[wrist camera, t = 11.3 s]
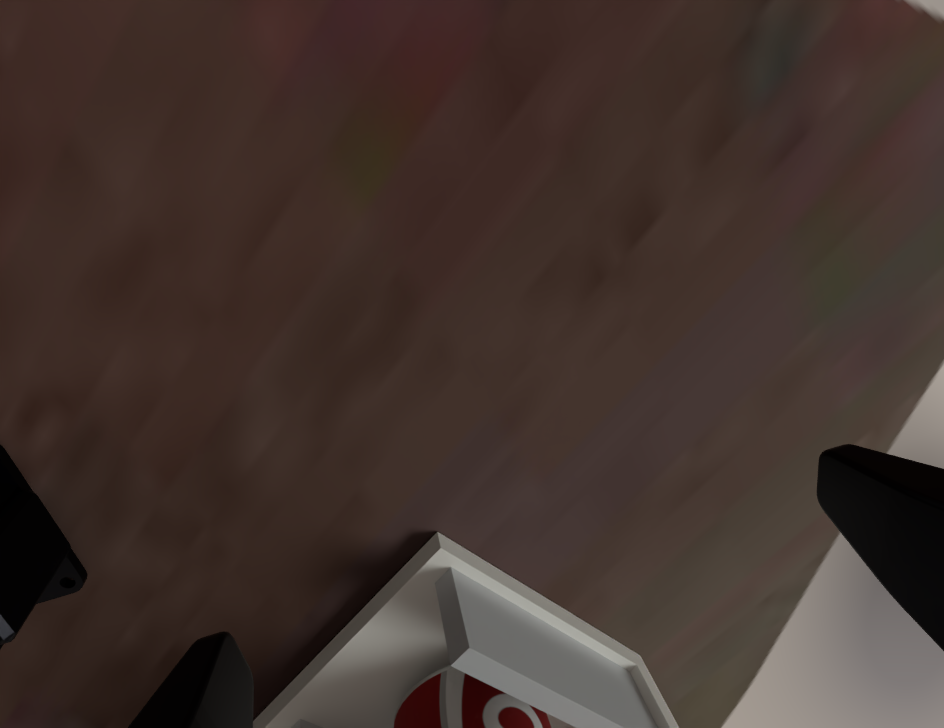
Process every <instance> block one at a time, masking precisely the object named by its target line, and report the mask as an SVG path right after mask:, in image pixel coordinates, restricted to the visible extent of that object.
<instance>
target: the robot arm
mask: <svg viewBox="0 0 944 728" xmlns="http://www.w3.org/2000/svg"><path fill="white" fill-rule="evenodd" d="M817 498H818V501H819V504H820V506H821V507H822V509H823V510H824V512H825V513H826V514H827V516H828V517H829V518H830V519H831V521H832V522H833V523H834V524H835V526H836V527H837V528H838V530H839V531H840V532H841V533H842V535H843V536H844V537H845V538H846V540H847V541H848V542H849V543H850V545H851V546H852V547H853V548H854V550H855V551H856V552H857V553H858V555H859V556H860V557H861V559H862V560H863V561H864V562H865V563H866V565H867V566H868V567H869V569H870V570H871V571H872V572H873V574H874V575H875V576H876V577H877V579H878V580H879V581H880V582H881V584H882V585H883V586H884V587H885V588H886V590H887V591H888V592H889V593H890V594H891V595H892V596H893V598H894V599H895V600H896V601H897V602H898V603H899V604H900V605H901V606H902V608H903V609H904V610H905V611H906V612H907V613H908V614H909V615H910V616H911V617H912V618H913V619H914V620H915V621H916V622H917V623H918V624H919V625H920V626H921V627H922V629H923V630H924V631H925V632H926V633H927V634H928V635H929V636H930V637H931V638H932V639H933V640H934V641H935V642H936V643H937V644H938V645H939V647H940V648H941V649H942V650H943V651H944V469H942V468H938V467H934V466H931V465H927V464H923V463H919V462H915V461H912V460H908V459H904V458H901V457H897V456H893V455H889V454H886V453H882V452H878V451H874V450H871V449H867V448H863V447H859V446H856V445H851V444H846V445H841V446H838V447H834V448H831V449H828V450H825V451H824V452H822V454H821V455H820V457H819V465H818V480H817ZM66 577H69V578H72V579H74V580H69V579H67V578H66ZM86 579H87V572H86V570H85V568H84V567H83V565H82V564H81V562H80V561H79V559H78V558H77V556H76V555H75V553H74V552H73V550H72V549H71V546H70V544H69V542H68V541H67V539H66V538H65V536H64V535H63V533H62V532H61V530H60V529H59V527H58V526H57V524H56V523H55V521H54V520H53V518H52V517H51V515H50V514H49V512H48V511H47V509H46V508H45V506H44V505H43V503H42V502H41V500H40V499H39V497H38V496H37V495H36V494H35V493H34V492H33V491H32V489H31V488H30V486H29V485H28V483H27V482H26V480H25V479H24V477H23V476H22V474H21V473H20V471H19V470H18V468H17V467H16V465H15V464H14V462H13V461H12V459H11V458H10V456H9V455H8V453H7V452H6V450H5V449H4V448H3V447H2V446H1V445H0V649H1V648H2V646H3V645H4V644H5V643H8V642H11V641H12V640H13V639H14V638H15V637H16V635H17V633H18V632H19V630H20V629H21V627H22V625H23V624H24V622H25V621H26V619H27V618H28V616H29V614H30V613H31V611H32V610H33V608H34V606H35V605H36V604H38V603H41V602H45V601H48V600H51V599H55V598H58V597H61V596H65V595H68V594H71V593H75V592H77V591H79V590H80V589H81V588H82V586H83V585H84V583H85V581H86ZM253 693H254V685H253V677H252V673H251V670H250V667H249V665H248V664H247V662H246V660H245V658H244V656H243V654H242V653H241V651H240V649H239V647H238V645H237V643H236V642H235V640H234V638H233V637H232V635H231V634H230V633H228V632H219V633H216V634H213V635H210V636H206V637H203V638H200V639H198V640H197V641H196V642H194V644H193V645H192V646H191V647H190V648H189V650H188V651H187V652H186V653H185V655H184V656H183V657H182V659H181V660H180V661H179V662H178V664H177V665H176V666H175V668H174V669H173V670H172V671H171V673H170V674H169V675H168V677H167V678H166V679H165V680H164V682H163V683H162V684H161V686H160V687H159V688H158V689H157V691H156V692H155V693H154V695H153V696H152V697H151V698H150V700H149V701H148V702H147V704H146V705H145V706H144V707H143V709H142V710H141V711H140V713H139V714H138V715H137V716H136V718H135V719H134V720H133V721H132V723H131V724H130V725H129V727H128V728H253Z"/></svg>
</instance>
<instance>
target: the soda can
mask: <svg viewBox="0 0 944 728" xmlns="http://www.w3.org/2000/svg"><path fill="white" fill-rule="evenodd" d="M393 728H551V725H550V722H549V719H548V716H547V713H545V712H543V711H541V710H539V709H537V708H535V707H533V706H531V705H529V704H527V703H525V702H523V701H521V700H519V699H517V698H515V697H513V696H511V695H509V694H507V693H505V692H503V691H501V690H498V689H496V688H494V687H492V686H490V685H488V684H486V683H484V682H482V681H480V680H478V679H476V678H474V677H472V676H470V675H468V674H466V673H464V672H462V671H460V670H458V669H456V668H454V667H452V666H450V665H447V666H445V667H443V668H440V669H438V670H436V671H434V672H432V673H431V674H429V675H427V676H426V677H424V678H423V679H421V680H420V681H419V682H418V683H416V684H415V685H414V686H413V687H412V688H411V689H410V690H409V691H408V692H407V694H406V695H405V696H404V698H403V699H402V700H401V702H400V704H399V706H398V708H397V710H396V713H395V717H394V727H393Z"/></svg>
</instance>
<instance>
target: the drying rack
mask: <svg viewBox="0 0 944 728" xmlns="http://www.w3.org/2000/svg"><path fill="white" fill-rule="evenodd" d="M447 665H450V666H452V667H454V668H456V669H458V670H460V671H462V672H464V673H466V674H468V675H470V676H472V677H474V678H476V679H478V680H480V681H482V682H484V683H486V684H488V685H490V686H492V687H494V688H496V689H498V690H501V691H503V692H505V693H507V694H509V695H511V696H513V697H515V698H517V699H519V700H521V701H523V702H525V703H527V704H529V705H531V706H533V707H535V708H537V709H539V710H541V711H543V712H545V713H547V716H548V719H549V722H550V725H551V728H679V727H678V725H677V723H676V721H675V719H674V717H673V715H672V714H671V712H670V710H669V708H668V706H667V704H666V703H665V701H664V699H663V697H662V695H661V693H660V691H659V690H658V688H657V686H656V684H655V682H654V680H653V679H652V677H651V675H650V673H649V671H648V669H647V667H646V666H645V664H644V662H643V660H642V658H641V656H640V655H639V654H637V653H635V652H634V651H632V650H630V649H629V648H627V647H626V646H624V645H622V644H621V643H619V642H617V641H616V640H614V639H612V638H611V637H609V636H608V635H606V634H604V633H603V632H601V631H599V630H598V629H596V628H594V627H593V626H591V625H589V624H588V623H586V622H585V621H583V620H581V619H580V618H578V617H576V616H575V615H573V614H571V613H570V612H568V611H567V610H565V609H563V608H562V607H560V606H558V605H557V604H555V603H553V602H552V601H550V600H548V599H547V598H545V597H544V596H542V595H540V594H539V593H537V592H535V591H534V590H532V589H530V588H529V587H527V586H526V585H524V584H522V583H521V582H519V581H517V580H516V579H514V578H512V577H511V576H509V575H508V574H506V573H504V572H503V571H501V570H499V569H498V568H496V567H494V566H493V565H491V564H489V563H488V562H486V561H485V560H483V559H481V558H480V557H478V556H476V555H475V554H473V553H471V552H470V551H468V550H467V549H465V548H463V547H462V546H460V545H458V544H457V543H455V542H453V541H452V540H450V539H448V538H447V537H445V536H444V535H442V534H440V533H439V532H437V533H436V534H435V535H434V536H433V537H432V538H431V539H430V540H429V541H428V542H427V543H426V544H425V545H424V546H423V547H422V548H421V549H420V550H419V551H418V552H417V553H416V554H415V555H414V556H413V557H412V558H411V559H410V560H409V561H408V562H407V563H406V564H405V566H404V567H403V568H402V569H401V570H400V571H399V572H398V573H397V574H396V575H395V576H394V577H393V578H392V579H391V580H390V581H389V582H388V583H387V584H386V585H385V586H384V587H383V588H382V589H381V590H380V591H379V592H378V593H377V594H376V595H375V596H374V597H373V598H372V599H371V600H370V602H369V603H368V604H367V605H366V606H365V607H364V608H363V609H362V610H361V611H360V612H359V613H358V614H357V615H356V616H355V617H354V618H353V619H352V620H351V621H350V622H349V623H348V624H347V625H346V626H345V627H344V628H343V629H342V630H341V631H340V632H339V633H338V634H337V635H336V636H335V638H334V639H333V640H332V641H331V642H330V643H329V644H328V645H327V646H326V647H325V648H324V649H323V650H322V651H321V652H320V653H319V654H318V655H317V656H316V657H315V658H314V659H313V660H312V661H311V662H310V663H309V664H308V665H307V666H306V667H305V668H304V669H303V670H302V671H301V672H300V674H299V675H298V676H297V677H296V678H295V679H294V680H293V681H292V682H291V683H290V684H289V685H288V686H287V687H286V688H285V689H284V690H283V691H282V692H281V693H280V694H279V695H278V696H277V697H276V698H275V699H274V700H273V701H272V702H271V703H270V704H269V705H268V706H267V707H266V708H265V710H264V711H263V712H262V713H261V714H260V715H259V716H258V717H257V718H256V719H255V720H254V721H253V728H393V727H394V717H395V713H396V710H397V708H398V706H399V704H400V702H401V700H402V699H403V698H404V696H405V695H406V694H407V692H408V691H409V690H410V689H411V688H412V687H413V686H414V685H415V684H416V683H418V682H419V681H420V680H421V679H423V678H424V677H426V676H427V675H429V674H431V673H432V672H434V671H436V670H438V669H440V668H443V667H445V666H447Z"/></svg>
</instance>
